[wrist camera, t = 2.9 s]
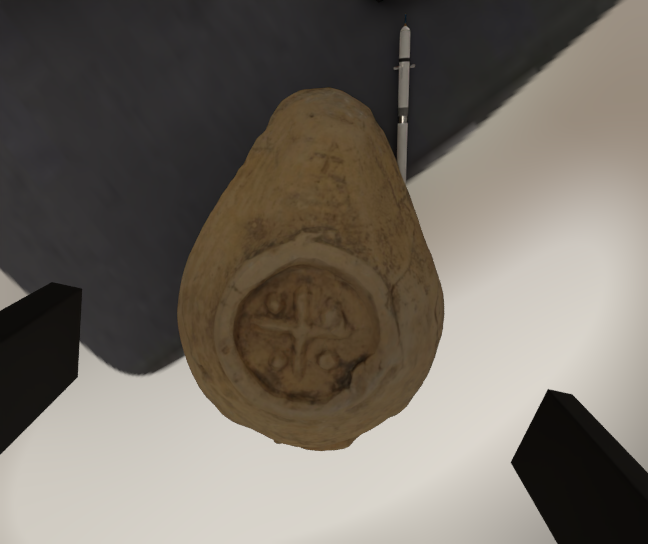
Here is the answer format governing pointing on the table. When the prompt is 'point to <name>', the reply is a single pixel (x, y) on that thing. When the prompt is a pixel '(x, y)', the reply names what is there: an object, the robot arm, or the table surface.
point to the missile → (403, 98)
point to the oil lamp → (312, 281)
